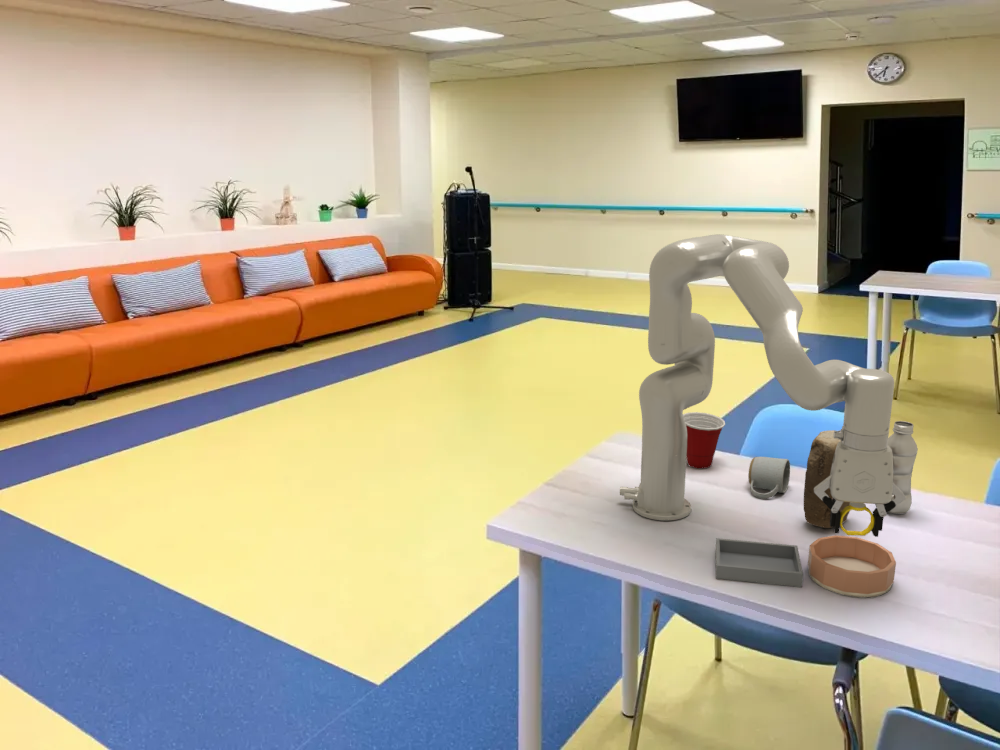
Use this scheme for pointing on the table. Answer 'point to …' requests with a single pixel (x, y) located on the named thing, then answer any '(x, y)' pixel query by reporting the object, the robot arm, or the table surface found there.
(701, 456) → the plastic cup
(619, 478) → the table surface
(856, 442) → the robot arm
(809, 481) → the stone
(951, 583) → the table surface
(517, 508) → the table surface
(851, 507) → the watch
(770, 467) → the ceramic mug
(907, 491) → the plastic bottle
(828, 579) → the bowl
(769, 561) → the parts tray
